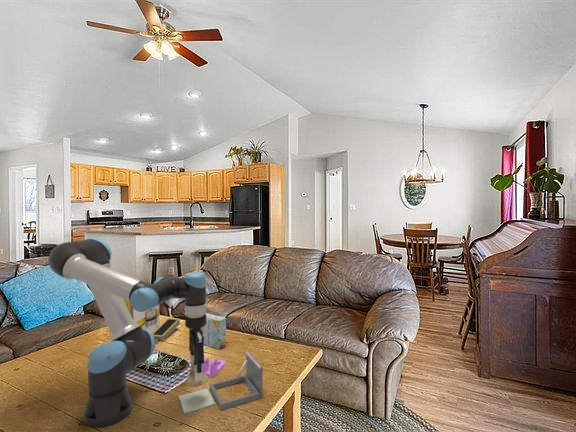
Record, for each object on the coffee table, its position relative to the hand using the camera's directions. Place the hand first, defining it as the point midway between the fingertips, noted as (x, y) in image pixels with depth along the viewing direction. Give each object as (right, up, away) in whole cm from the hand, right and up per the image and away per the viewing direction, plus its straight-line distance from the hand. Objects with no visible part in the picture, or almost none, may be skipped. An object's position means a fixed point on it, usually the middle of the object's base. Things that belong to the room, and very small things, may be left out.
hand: (196, 375), depth 123 cm
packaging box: (-53, -7, +70) cm, 88 cm away
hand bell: (0, -2, 0) cm, 2 cm away
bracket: (+1, -9, +24) cm, 26 cm away
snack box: (-8, -8, +51) cm, 52 cm away
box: (-35, -8, +61) cm, 71 cm away
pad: (0, -10, 0) cm, 10 cm away
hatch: (+13, -10, +5) cm, 17 cm away
